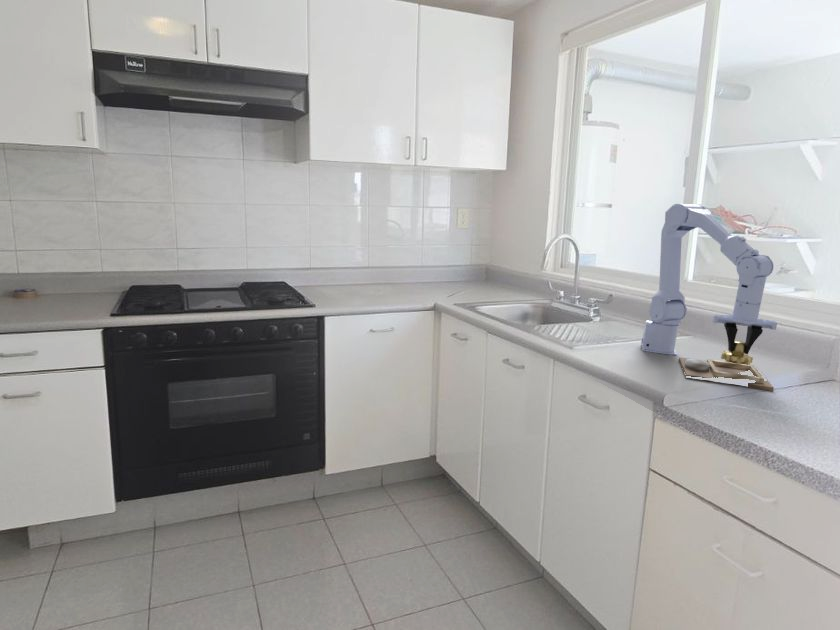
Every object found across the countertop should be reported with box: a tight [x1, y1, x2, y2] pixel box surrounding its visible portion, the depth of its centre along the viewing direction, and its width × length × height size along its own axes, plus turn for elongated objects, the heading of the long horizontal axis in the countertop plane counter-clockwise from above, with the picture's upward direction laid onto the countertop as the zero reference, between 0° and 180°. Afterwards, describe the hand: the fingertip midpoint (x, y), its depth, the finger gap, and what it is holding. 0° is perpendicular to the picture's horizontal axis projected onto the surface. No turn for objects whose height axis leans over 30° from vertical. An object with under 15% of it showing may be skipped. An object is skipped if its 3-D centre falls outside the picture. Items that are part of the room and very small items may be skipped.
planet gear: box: [720, 340, 754, 365], centre depth 146 cm, size 7×7×5 cm
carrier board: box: [678, 356, 774, 392], centre depth 148 cm, size 20×16×2 cm
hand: (737, 351), depth 146 cm, fingers closed on planet gear, 3 cm apart
